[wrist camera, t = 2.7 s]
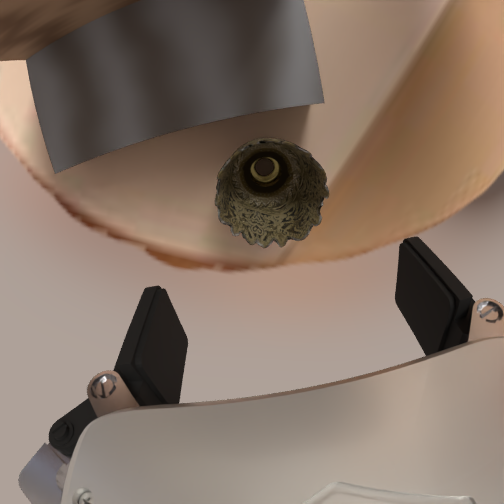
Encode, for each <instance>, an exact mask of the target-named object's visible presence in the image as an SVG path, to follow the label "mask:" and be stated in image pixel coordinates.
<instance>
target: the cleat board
mask: <svg viewBox="0 0 504 504" xmlns="http://www.w3.org/2000/svg"><path fill="white" fill-rule="evenodd" d="M9 60H26V63H27V69H28V74H29V80H30V85H31V90H32V94H33V99H34V103H35V107H36V111H37V115H38V119H39V123H40V127H41V130H42V134H43V137H44V141H45V144H46V147H47V150H48V154H49V157H50V160H51V163H52V166H53V169H54V172H55V174H56V173H58V172H61V171H63V170H65V169H68V168H70V167H73V166H75V165H77V164H80V163H82V162H85V161H87V160H90V159H93V158H95V157H98V156H101V155H103V154H106V153H109V152H112V151H114V150H117V149H120V148H123V147H126V146H129V145H132V144H135V143H138V142H141V141H144V140H148V139H151V138H154V137H157V136H161V135H164V134H168V133H171V132H175V131H178V130H182V129H186V128H190V127H194V126H198V125H202V124H206V123H210V122H214V121H219V120H223V119H228V118H232V117H237V116H242V115H247V114H253V113H258V112H264V111H269V110H275V109H282V108H288V107H295V106H303V105H311V104H319V103H324V97H323V91H322V85H321V79H320V74H319V68H318V63H317V58H316V53H315V48H314V43H313V39H312V34H311V30H310V25H309V21H308V17H307V13H306V9H305V5H304V1H303V0H0V61H9Z"/></svg>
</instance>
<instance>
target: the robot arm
mask: <svg viewBox="0 0 504 504" xmlns="http://www.w3.org/2000/svg"><path fill="white" fill-rule="evenodd" d="M398 261H399V262H398V272H397V283H396V292H395V301H396V304H397V306H398V308H399V309H400V311H401V313H402V314H403V316H404V318H405V319H406V321H407V323H408V325H409V326H410V328H411V330H412V331H413V333H414V335H415V336H416V339H417V340H418V342H419V344H420V346H421V347H422V349H423V351H424V353H425V355H426V356H425V357H422V358H419V359H416V360H412V361H409V362H406V363H403V364H400V365H397V366H393V367H390V368H386V369H383V370H379V371H376V372H372V373H368V374H364V375H360V376H356V377H353V378H348V379H344V380H340V381H336V382H331V383H327V384H322V385H317V386H313V387H307V388H302V389H296V390H291V391H285V392H279V393H273V394H267V395H259V396H252V397H245V398H236V399H227V400H217V401H206V402H195V403H181V404H179V400H180V393H181V386H182V379H183V373H184V366H185V360H186V353H187V347H188V339H187V336H186V334H185V332H184V329H183V327H182V325H181V323H180V321H179V319H178V316H177V314H176V312H175V310H174V308H173V305H172V303H171V301H170V299H169V296H168V294H167V292H166V290H165V289H161V287H160V286H153V287H147V288H145V289H144V292H143V294H142V296H141V299H140V301H139V304H138V306H137V309H136V311H135V314H134V316H133V319H132V322H131V324H130V326H129V329H128V331H127V334H126V337H125V340H124V342H123V345H122V348H121V351H120V354H119V356H118V359H117V362H116V365H115V368H114V371H111V370H110V371H109V370H107V371H103V372H101V373H99V374H97V375H96V376H94V377H93V378H92V380H91V381H90V382H89V384H88V387H87V395H88V399H87V400H85V401H84V402H82V403H81V404H80V405H78V406H77V407H76V408H74V409H73V410H71V411H70V412H69V413H67V414H66V415H64V416H63V417H62V418H60V419H59V420H57V421H56V422H55V423H54V424H53V425H52V427H51V429H50V432H49V442H50V443H49V444H48V445H47V444H46V443H44V444H43V445H42V447H41V448H40V449H39V450H38V451H37V453H36V454H35V455H34V456H33V457H32V459H31V460H30V461H29V462H28V464H27V465H26V466H25V467H24V469H23V470H22V471H21V473H20V475H19V479H18V481H19V486H20V488H21V490H22V491H23V493H24V494H25V495H26V497H27V498H28V499H29V501H30V502H31V504H504V306H503V305H502V304H501V303H499V302H498V301H496V300H493V299H490V298H483V299H480V300H478V301H476V302H475V301H474V300H473V299H472V297H473V296H472V295H471V293H470V292H469V291H468V290H467V289H466V288H465V286H464V285H463V284H462V283H461V282H460V281H459V280H458V279H457V277H456V276H455V275H454V274H453V273H452V272H451V271H450V270H449V269H448V268H447V266H446V265H445V264H444V263H443V262H442V261H441V260H440V259H439V258H438V257H437V256H436V255H435V254H434V253H433V252H432V251H431V249H429V247H428V246H427V245H426V244H425V243H424V242H422V240H421V239H420V238H419V237H411V238H407V239H404V240H403V243H401V244H400V246H399V260H398Z"/></svg>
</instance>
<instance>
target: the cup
mask: <svg viewBox="0 0 504 504" xmlns="http://www.w3.org/2000/svg"><path fill="white" fill-rule="evenodd" d="M262 158H267V159H269V160H271V161H272V162H273V165H274V169H273V171H272V173H271V174H269V175H267V176H262V175H259V174H258V173H257V172H256V170H255V165H256V163H257V161H258V160H260V159H262ZM217 179H218V183H217V187H216V189H217V194H216V198H215V206H217V207H218V218H219V220H220V222H221V223H223V224H225V225H226V224H227V225H229V226H230V227H231V232H232V235H233V236H238V235H239V234H240V233H242V236H243V238H244V239H246V241H247V242H248V243H249V244H250V245H254V244H255V243H257V244H258V245H260V246H261V247H262V248H266V247H268V246H269V245H271V243H272V242H273V241H275V242H277V244H278V245H279V247H283V246H285V244H286V242H287V240H290V239H292V240H295V241H300V240H304V239H305V238H306V237H307V236H308V234H309V233H310V231H311V229H312V227H313V225H314V226H318V225H319V224H320V223H321V221H322V216H321V214H320V209H321V207H322V206H323V200H324V197H325V198H326V199H327V198H328V197H329V190H328V187H327V185H326V182H327V177H326V173H325V171H324V169H323V168H322V167H321V165H320V164H319V163H318V162H317V161H316V160H315V159H314V158H313V157H312V154H311V153H310V152H308V151H307V150H304V149H302V148H300V147H299V146H297V145H295V144H293V143H291V142H288V141H284V140H281V139H276V138H261V139H256V140H253V141H250V142H248V143H246V144H244V145H243V146H241V147H240V148H239V149H238V150H237V151H235V153H234V154H233V155H232V156H231V157H230V158H229V159H228V160H227V162H226V163H225V164H224V166H223V167H222V169H221V170H220V172H219V174H218V176H217Z"/></svg>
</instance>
